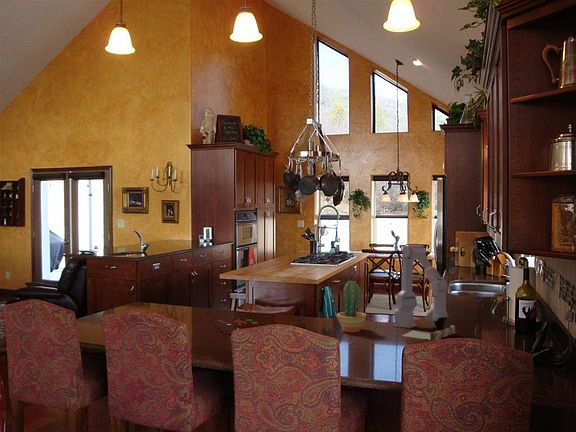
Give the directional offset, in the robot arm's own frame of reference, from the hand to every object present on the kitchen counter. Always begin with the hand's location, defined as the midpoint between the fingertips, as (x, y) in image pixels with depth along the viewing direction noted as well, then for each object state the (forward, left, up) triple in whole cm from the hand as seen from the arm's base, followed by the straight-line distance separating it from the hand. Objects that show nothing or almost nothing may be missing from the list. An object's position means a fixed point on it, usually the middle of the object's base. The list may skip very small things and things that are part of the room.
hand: (439, 333), depth 255 cm
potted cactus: (-43, -9, -2) cm, 44 cm away
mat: (-9, -1, -2) cm, 9 cm away
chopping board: (-99, -30, -3) cm, 103 cm away
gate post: (+4, +8, -2) cm, 9 cm away
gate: (+2, -2, -1) cm, 3 cm away
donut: (-9, +18, -2) cm, 20 cm away
